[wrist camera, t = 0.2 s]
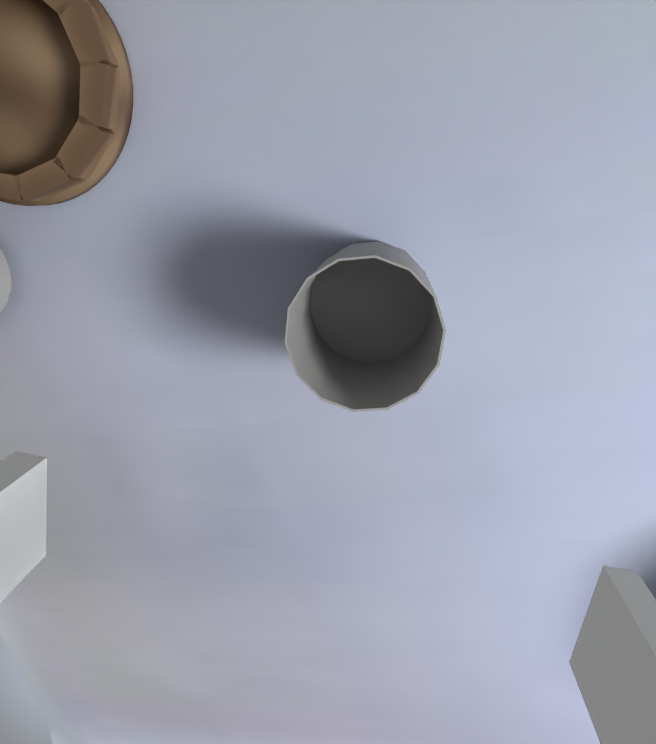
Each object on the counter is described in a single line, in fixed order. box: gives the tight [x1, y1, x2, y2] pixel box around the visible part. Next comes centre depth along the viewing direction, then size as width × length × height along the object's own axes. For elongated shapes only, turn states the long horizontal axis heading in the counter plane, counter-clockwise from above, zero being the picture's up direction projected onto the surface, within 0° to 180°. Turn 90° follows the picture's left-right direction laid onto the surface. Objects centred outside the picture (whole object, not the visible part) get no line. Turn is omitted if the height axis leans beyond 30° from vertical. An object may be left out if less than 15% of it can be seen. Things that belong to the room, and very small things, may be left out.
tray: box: [0, 0, 133, 206], centre depth 36 cm, size 15×15×3 cm
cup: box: [284, 241, 446, 412], centre depth 35 cm, size 8×8×10 cm
